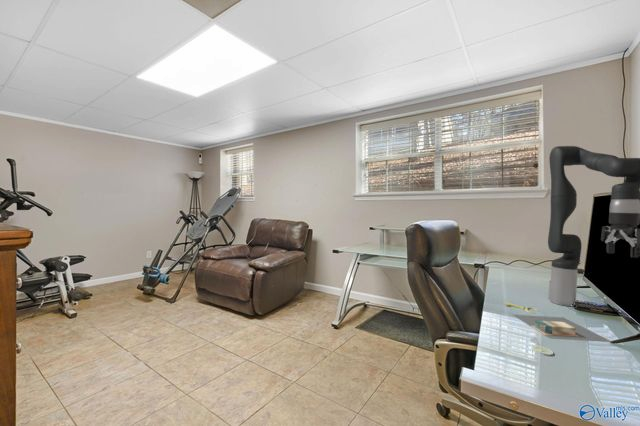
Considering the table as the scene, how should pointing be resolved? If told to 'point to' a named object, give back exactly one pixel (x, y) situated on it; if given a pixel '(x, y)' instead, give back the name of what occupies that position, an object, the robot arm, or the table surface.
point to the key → (520, 307)
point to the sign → (542, 350)
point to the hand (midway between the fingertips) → (622, 255)
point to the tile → (555, 327)
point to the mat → (580, 334)
